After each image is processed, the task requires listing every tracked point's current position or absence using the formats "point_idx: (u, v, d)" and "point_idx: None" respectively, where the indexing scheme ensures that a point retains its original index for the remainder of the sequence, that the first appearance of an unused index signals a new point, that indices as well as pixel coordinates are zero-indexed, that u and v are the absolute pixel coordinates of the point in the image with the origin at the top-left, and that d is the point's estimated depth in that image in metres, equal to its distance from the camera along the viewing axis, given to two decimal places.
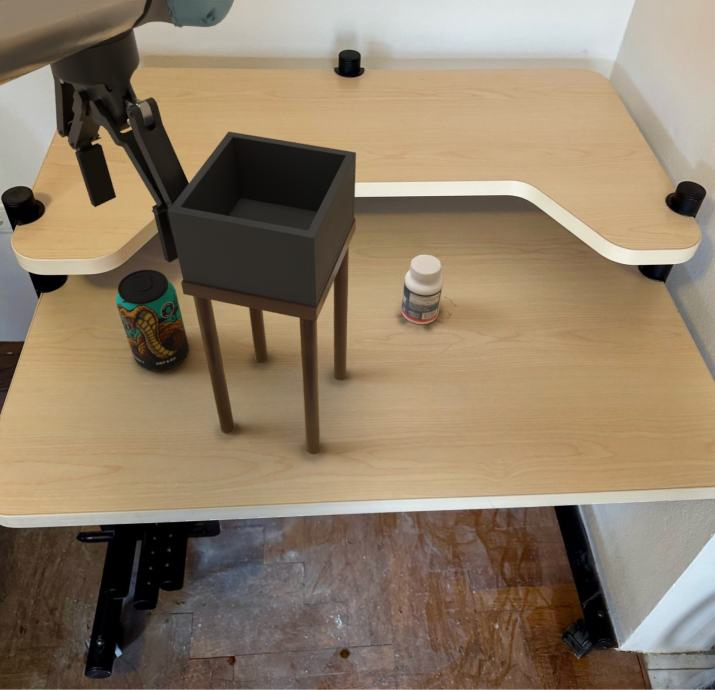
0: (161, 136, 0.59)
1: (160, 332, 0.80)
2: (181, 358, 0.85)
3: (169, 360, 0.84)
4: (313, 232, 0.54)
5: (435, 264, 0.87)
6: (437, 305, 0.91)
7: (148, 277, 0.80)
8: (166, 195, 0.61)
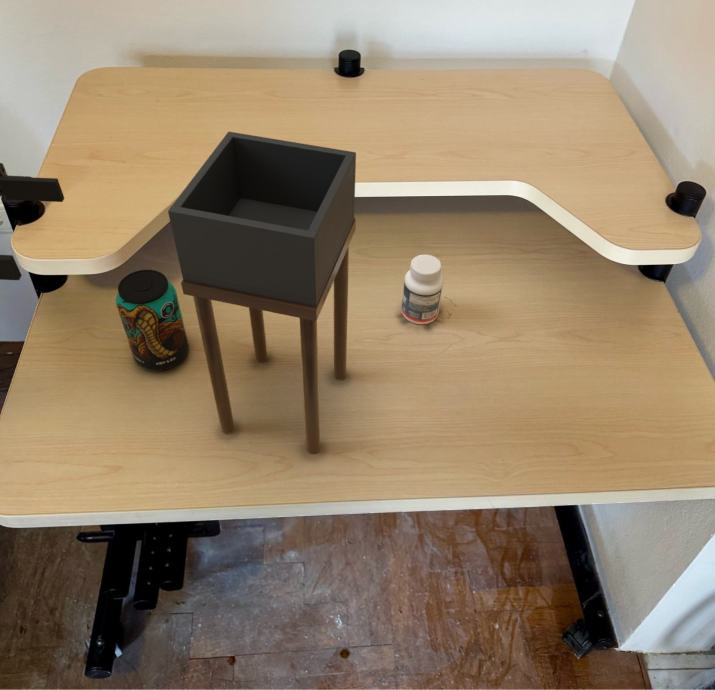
0: None
1: (160, 332, 0.80)
2: (181, 358, 0.85)
3: (169, 360, 0.84)
4: (313, 232, 0.54)
5: (435, 264, 0.87)
6: (437, 305, 0.91)
7: (148, 277, 0.80)
8: None
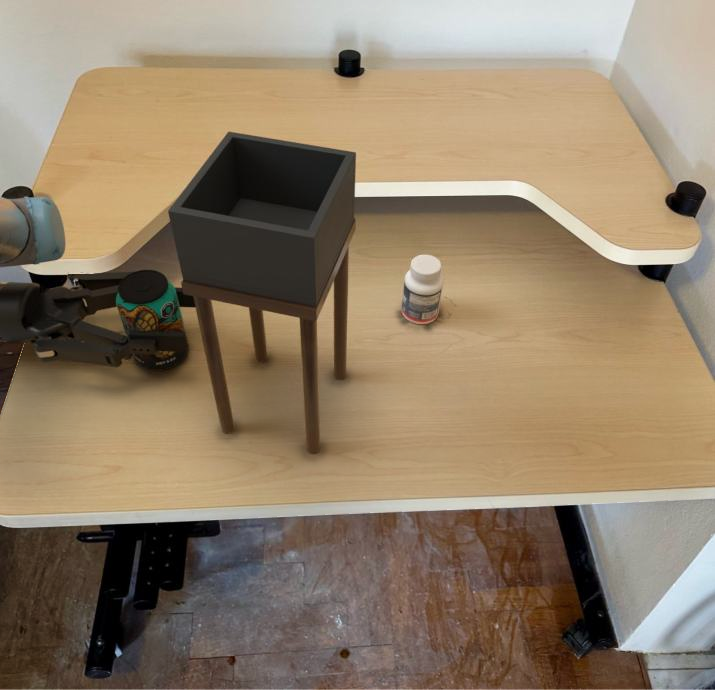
0: None
1: None
2: (181, 358, 0.85)
3: (169, 360, 0.84)
4: (313, 232, 0.54)
5: (435, 264, 0.87)
6: (437, 305, 0.91)
7: (148, 277, 0.80)
8: (130, 273, 0.86)
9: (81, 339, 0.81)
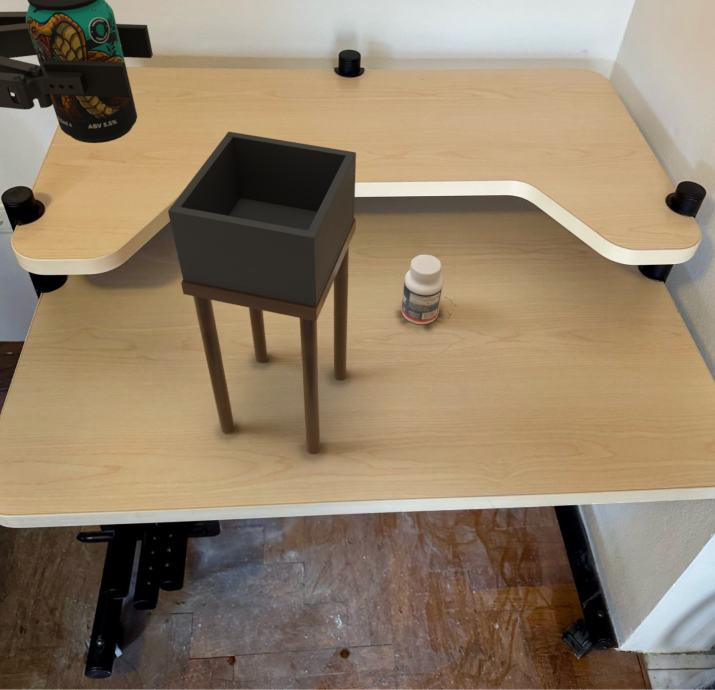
0: None
1: None
2: (125, 126, 0.62)
3: (107, 123, 0.60)
4: (313, 232, 0.54)
5: (435, 264, 0.87)
6: (437, 305, 0.91)
7: None
8: None
9: None
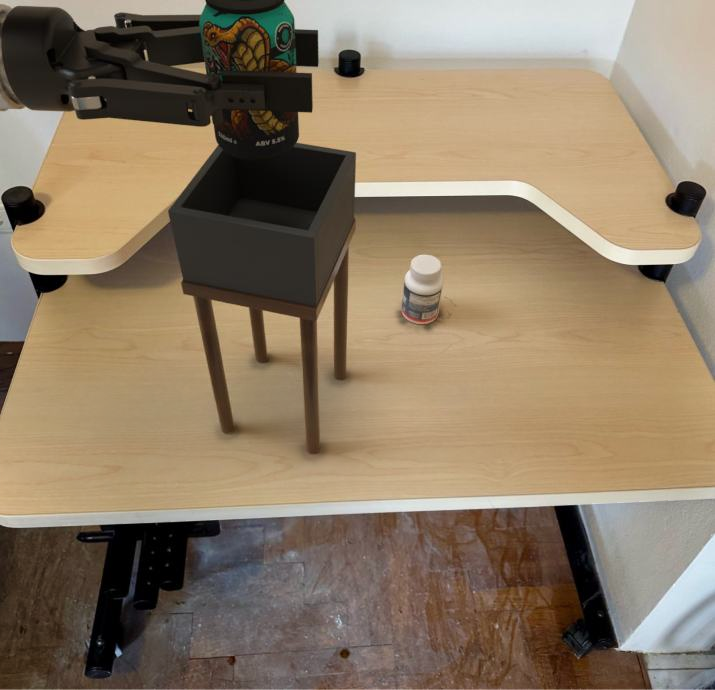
0: None
1: None
2: (291, 143, 0.55)
3: (276, 140, 0.54)
4: (313, 232, 0.54)
5: (435, 264, 0.87)
6: (437, 305, 0.91)
7: None
8: None
9: None
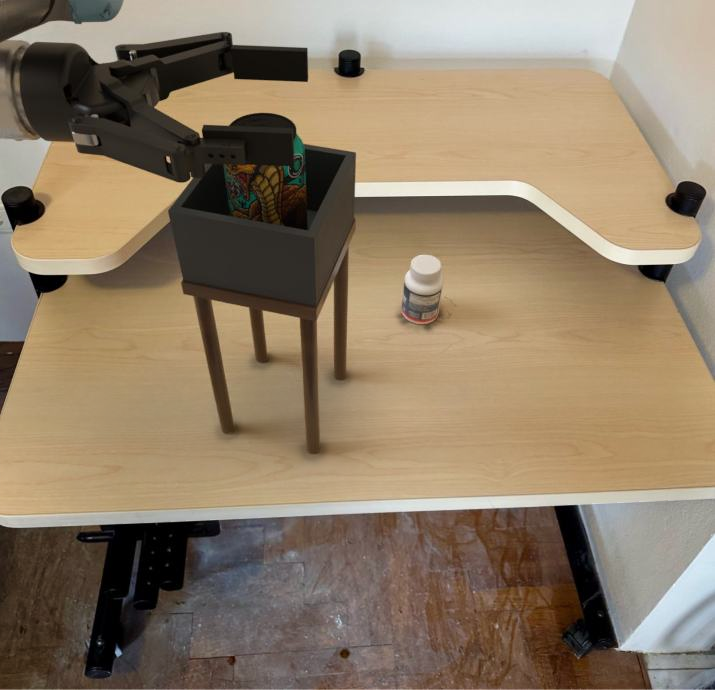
0: None
1: (283, 199, 0.57)
2: None
3: None
4: (313, 232, 0.54)
5: (435, 264, 0.87)
6: (437, 305, 0.91)
7: (267, 121, 0.57)
8: (207, 35, 0.59)
9: None
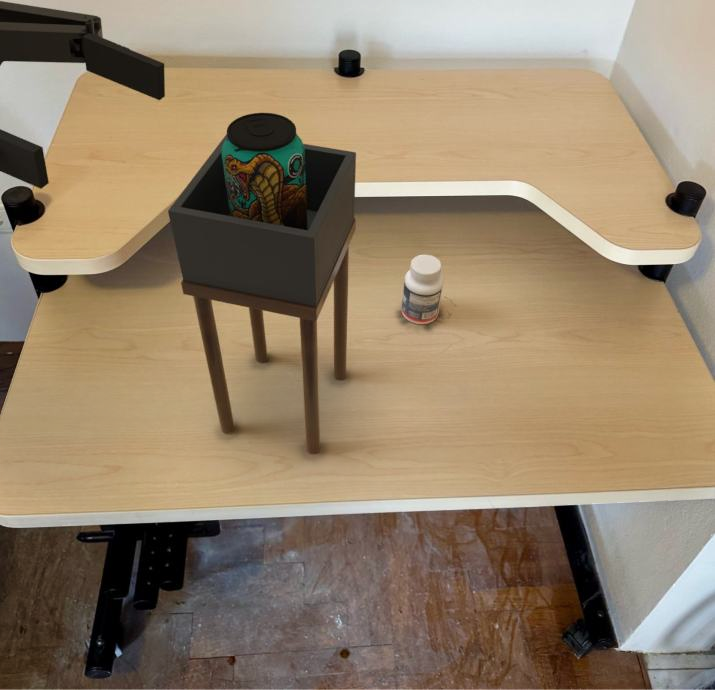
0: None
1: (283, 199, 0.57)
2: None
3: None
4: (313, 232, 0.54)
5: (435, 264, 0.87)
6: (437, 305, 0.91)
7: (267, 121, 0.57)
8: (77, 14, 0.53)
9: None
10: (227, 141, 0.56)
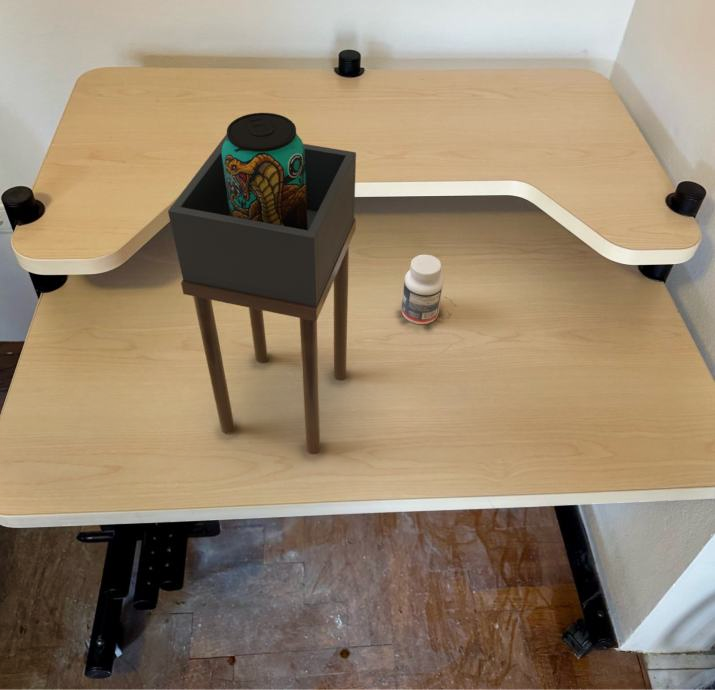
0: None
1: (283, 199, 0.57)
2: None
3: None
4: (313, 232, 0.54)
5: (435, 264, 0.87)
6: (437, 305, 0.91)
7: (267, 121, 0.57)
8: None
9: None
10: (227, 141, 0.56)
